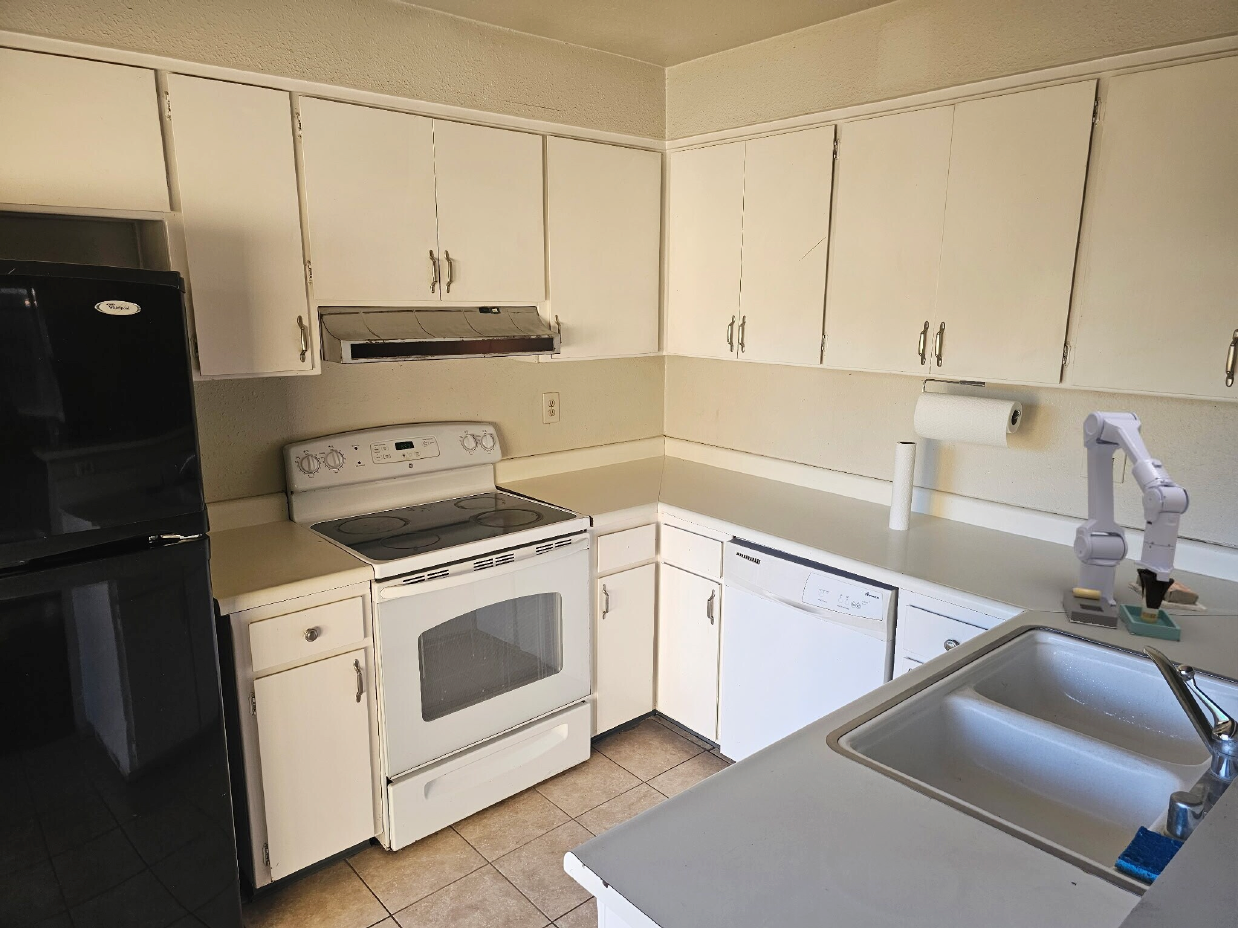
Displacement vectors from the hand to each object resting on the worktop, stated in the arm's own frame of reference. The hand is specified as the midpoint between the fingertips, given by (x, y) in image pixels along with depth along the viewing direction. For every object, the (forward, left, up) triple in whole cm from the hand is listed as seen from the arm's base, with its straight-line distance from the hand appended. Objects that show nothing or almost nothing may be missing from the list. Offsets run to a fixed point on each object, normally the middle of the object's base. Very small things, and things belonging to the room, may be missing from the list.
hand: (1150, 605), depth 171 cm
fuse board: (-3, -11, -5) cm, 12 cm away
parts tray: (0, 0, -5) cm, 5 cm away
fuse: (0, 0, -3) cm, 3 cm away
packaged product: (-28, +9, -5) cm, 30 cm away
